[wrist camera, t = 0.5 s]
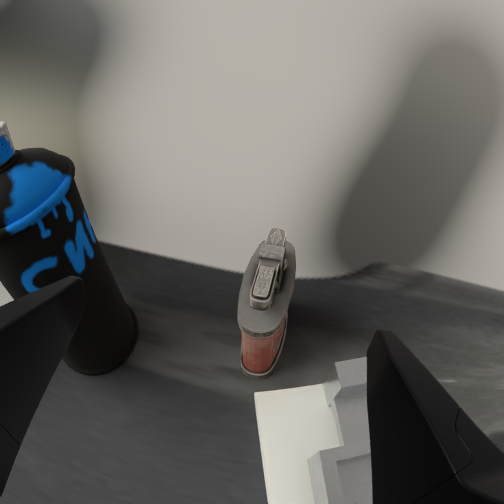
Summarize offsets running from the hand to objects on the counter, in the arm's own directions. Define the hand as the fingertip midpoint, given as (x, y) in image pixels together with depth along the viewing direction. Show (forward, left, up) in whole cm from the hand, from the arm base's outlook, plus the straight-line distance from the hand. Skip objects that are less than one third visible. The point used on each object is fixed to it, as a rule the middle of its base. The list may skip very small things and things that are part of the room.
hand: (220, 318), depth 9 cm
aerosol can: (+9, +12, -17) cm, 22 cm away
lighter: (+8, -3, -17) cm, 19 cm away
